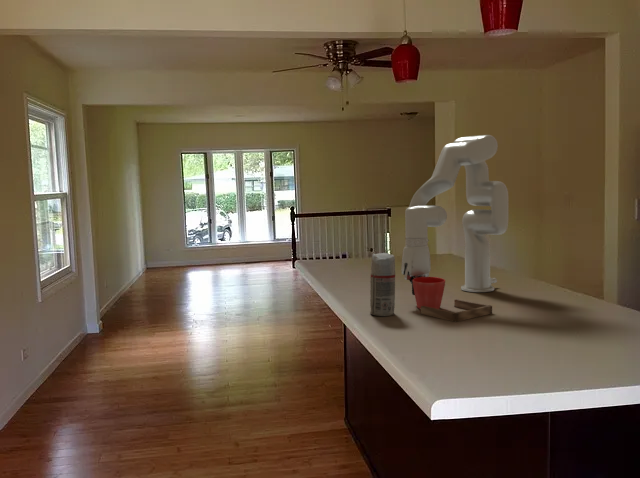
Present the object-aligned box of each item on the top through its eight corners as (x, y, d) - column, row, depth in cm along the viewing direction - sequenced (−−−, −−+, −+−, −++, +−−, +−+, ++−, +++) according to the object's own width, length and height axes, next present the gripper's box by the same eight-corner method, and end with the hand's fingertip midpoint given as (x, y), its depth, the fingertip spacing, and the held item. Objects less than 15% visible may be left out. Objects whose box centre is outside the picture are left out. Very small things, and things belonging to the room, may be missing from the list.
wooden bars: (456, 306, 198) (456, 299, 198) (492, 313, 186) (492, 305, 186) (420, 313, 188) (420, 306, 187) (455, 321, 176) (455, 313, 176)
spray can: (398, 312, 191) (397, 252, 189) (393, 317, 184) (392, 255, 182) (373, 310, 194) (372, 251, 192) (367, 316, 186) (366, 254, 184)
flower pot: (411, 303, 202) (411, 276, 200) (443, 303, 201) (443, 276, 199) (412, 311, 191) (413, 282, 190) (446, 312, 190) (446, 283, 189)
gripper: (424, 240, 206) (424, 290, 208) (393, 243, 198) (393, 296, 200) (439, 241, 200) (440, 293, 202) (408, 245, 192) (408, 299, 193)
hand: (416, 294), depth 201 cm, fingers closed
